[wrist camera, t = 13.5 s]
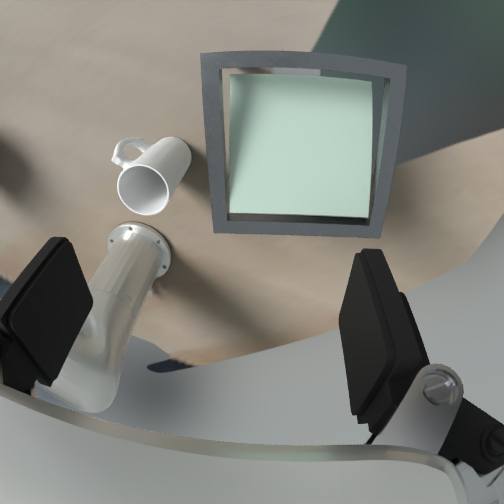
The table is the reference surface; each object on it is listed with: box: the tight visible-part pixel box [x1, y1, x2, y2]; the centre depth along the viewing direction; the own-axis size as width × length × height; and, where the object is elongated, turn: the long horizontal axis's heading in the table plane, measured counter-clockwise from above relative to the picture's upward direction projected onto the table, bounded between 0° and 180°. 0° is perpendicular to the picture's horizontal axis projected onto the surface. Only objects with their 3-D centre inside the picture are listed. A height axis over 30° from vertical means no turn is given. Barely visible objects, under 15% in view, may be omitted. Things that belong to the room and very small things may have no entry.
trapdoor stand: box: [200, 51, 407, 238], centre depth 33 cm, size 18×18×16 cm
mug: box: [112, 137, 191, 215], centre depth 39 cm, size 10×7×12 cm, turn 43°
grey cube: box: [273, 68, 321, 76], centre depth 34 cm, size 6×6×6 cm
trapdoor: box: [229, 74, 372, 217], centre depth 29 cm, size 14×14×1 cm
